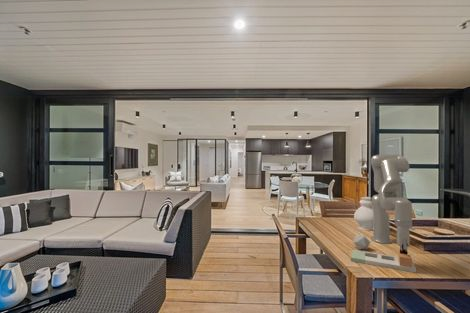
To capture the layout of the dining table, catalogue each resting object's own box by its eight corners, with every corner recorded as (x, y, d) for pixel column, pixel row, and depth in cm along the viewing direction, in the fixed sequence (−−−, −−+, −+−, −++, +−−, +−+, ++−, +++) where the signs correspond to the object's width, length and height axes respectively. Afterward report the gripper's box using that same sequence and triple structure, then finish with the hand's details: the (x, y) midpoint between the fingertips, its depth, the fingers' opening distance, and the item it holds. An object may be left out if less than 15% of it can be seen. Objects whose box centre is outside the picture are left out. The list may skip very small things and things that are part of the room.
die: (369, 253, 144) (374, 238, 148) (355, 245, 146) (360, 230, 149) (362, 253, 152) (367, 239, 156) (348, 245, 154) (354, 231, 157)
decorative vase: (362, 224, 207) (361, 195, 208) (383, 229, 192) (383, 198, 192) (349, 227, 198) (349, 197, 199) (371, 232, 183) (370, 200, 183)
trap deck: (351, 253, 144) (351, 249, 144) (411, 262, 130) (411, 259, 130) (350, 261, 132) (350, 257, 132) (415, 272, 118) (415, 268, 118)
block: (398, 261, 126) (398, 253, 126) (410, 263, 124) (409, 254, 124) (399, 265, 122) (399, 256, 122) (411, 267, 120) (411, 258, 120)
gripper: (393, 219, 136) (393, 251, 135) (396, 225, 122) (396, 261, 122) (409, 220, 132) (410, 254, 132) (414, 227, 119) (415, 265, 119)
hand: (403, 257), depth 127 cm, fingers closed
